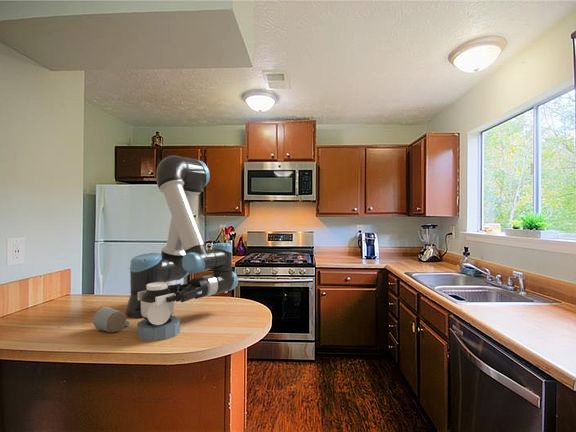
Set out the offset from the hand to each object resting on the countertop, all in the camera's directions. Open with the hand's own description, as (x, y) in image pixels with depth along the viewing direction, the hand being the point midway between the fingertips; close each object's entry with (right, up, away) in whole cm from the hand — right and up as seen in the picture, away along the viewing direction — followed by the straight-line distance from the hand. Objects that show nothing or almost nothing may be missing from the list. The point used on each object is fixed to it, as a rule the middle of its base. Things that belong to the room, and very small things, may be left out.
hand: (146, 298), depth 108 cm
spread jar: (+3, -8, +3) cm, 9 cm away
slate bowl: (+3, -12, +3) cm, 13 cm away
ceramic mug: (-15, -13, +8) cm, 21 cm away
